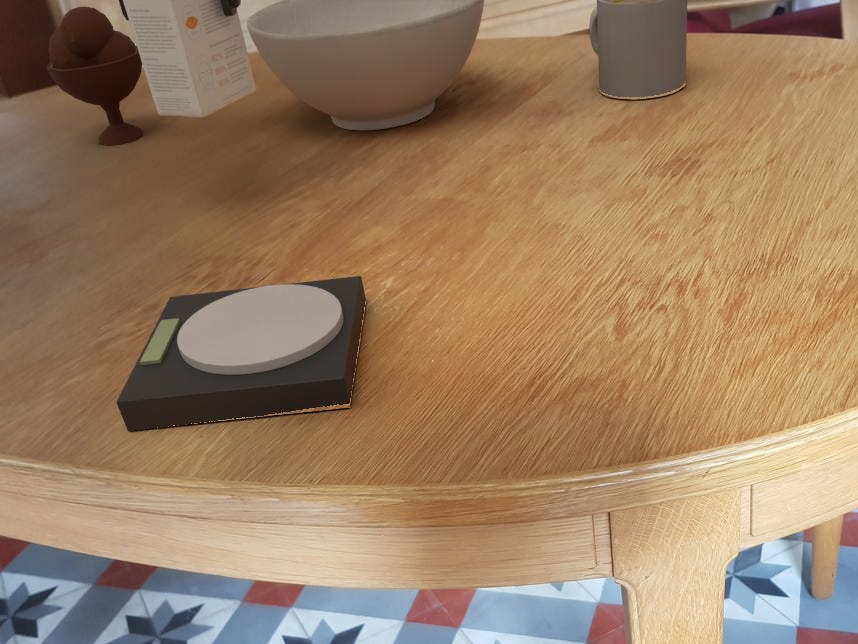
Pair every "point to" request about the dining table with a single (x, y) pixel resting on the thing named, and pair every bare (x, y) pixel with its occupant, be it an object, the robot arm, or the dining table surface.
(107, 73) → the ice cream bowl
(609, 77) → the coffee mug
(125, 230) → the dining table surface
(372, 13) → the decorative bowl
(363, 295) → the scale
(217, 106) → the small box
